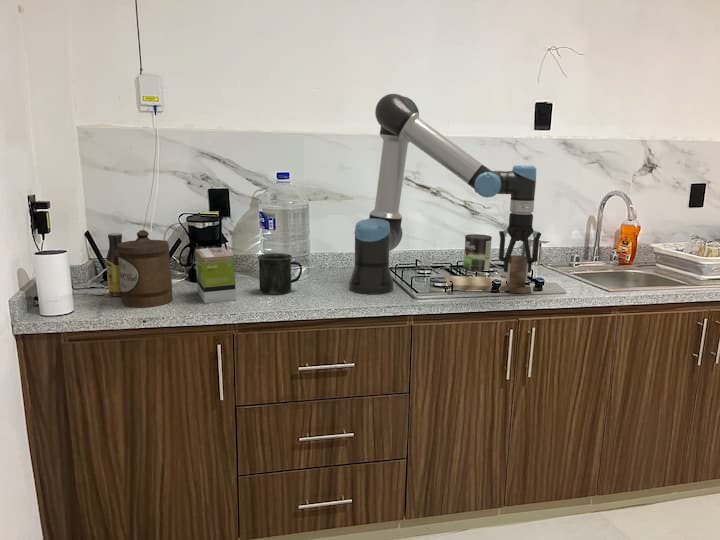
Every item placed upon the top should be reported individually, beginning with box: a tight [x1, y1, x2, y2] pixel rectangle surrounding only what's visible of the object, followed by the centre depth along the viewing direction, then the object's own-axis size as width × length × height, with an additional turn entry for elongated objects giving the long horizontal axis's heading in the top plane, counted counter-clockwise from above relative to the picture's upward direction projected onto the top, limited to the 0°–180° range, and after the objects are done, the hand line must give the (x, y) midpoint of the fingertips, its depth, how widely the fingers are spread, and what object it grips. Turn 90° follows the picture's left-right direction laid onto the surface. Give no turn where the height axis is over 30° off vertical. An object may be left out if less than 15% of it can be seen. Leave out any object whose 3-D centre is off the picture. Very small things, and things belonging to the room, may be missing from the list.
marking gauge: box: [507, 254, 527, 294], centre depth 194 cm, size 5×13×12 cm, turn 176°
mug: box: [257, 252, 303, 296], centre depth 187 cm, size 11×15×12 cm
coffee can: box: [463, 233, 493, 272], centre depth 222 cm, size 10×10×14 cm
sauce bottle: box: [105, 232, 123, 297], centre depth 179 cm, size 6×6×20 cm
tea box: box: [194, 246, 237, 304], centre depth 179 cm, size 15×10×15 cm
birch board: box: [444, 275, 532, 294], centre depth 198 cm, size 28×14×2 cm, turn 86°
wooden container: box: [117, 229, 174, 308], centre depth 172 cm, size 15×15×22 cm
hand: (516, 281), depth 191 cm, fingers closed on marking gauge, 5 cm apart
